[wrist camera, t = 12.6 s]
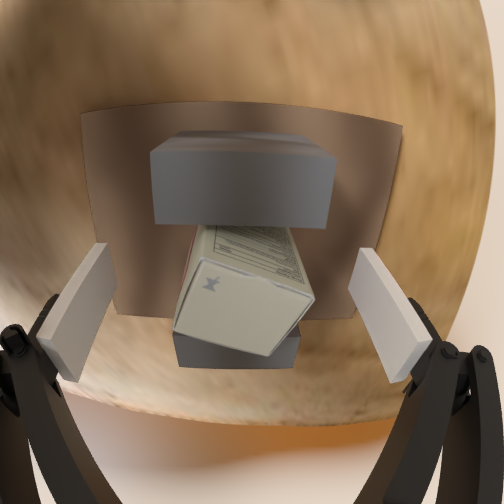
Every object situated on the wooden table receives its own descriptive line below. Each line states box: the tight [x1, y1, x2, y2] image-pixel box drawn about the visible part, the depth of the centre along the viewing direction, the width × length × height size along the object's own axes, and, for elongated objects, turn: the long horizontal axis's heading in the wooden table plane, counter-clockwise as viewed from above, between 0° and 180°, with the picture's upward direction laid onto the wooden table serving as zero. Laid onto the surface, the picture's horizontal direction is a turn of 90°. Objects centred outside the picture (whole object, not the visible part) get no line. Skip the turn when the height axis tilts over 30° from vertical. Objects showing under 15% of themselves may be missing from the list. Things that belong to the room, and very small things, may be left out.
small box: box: [172, 225, 315, 356], centre depth 15 cm, size 5×4×8 cm
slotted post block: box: [81, 101, 403, 369], centre depth 16 cm, size 20×16×7 cm
